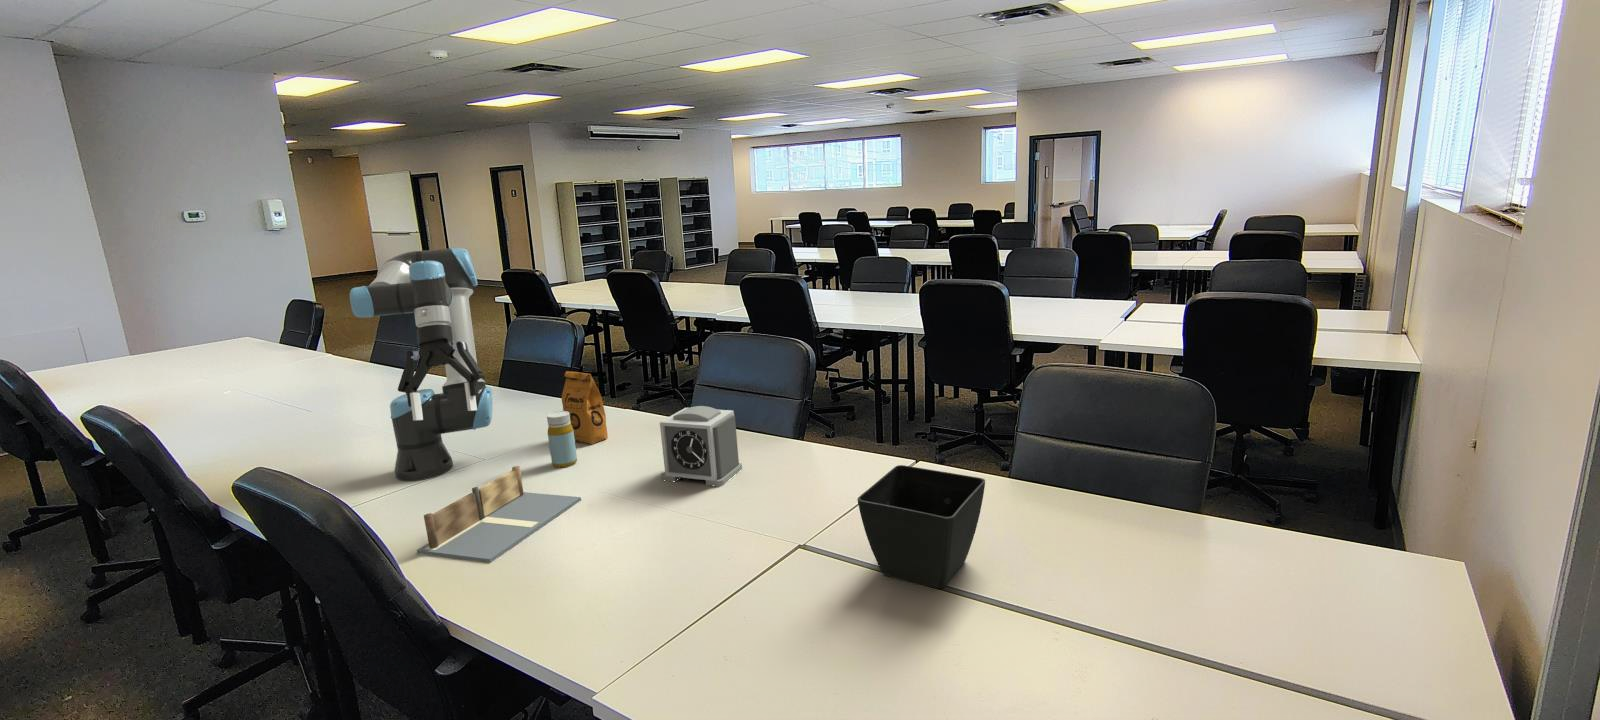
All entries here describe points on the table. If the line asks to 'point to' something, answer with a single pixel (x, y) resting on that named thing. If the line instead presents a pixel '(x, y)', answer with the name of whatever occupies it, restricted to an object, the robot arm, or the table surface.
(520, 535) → the board
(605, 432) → the coffee package
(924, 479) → the flower pot
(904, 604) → the table surface
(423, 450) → the robot arm
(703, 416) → the alarm clock
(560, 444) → the bottle
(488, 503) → the panel
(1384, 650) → the table surface
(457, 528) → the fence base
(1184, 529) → the table surface
